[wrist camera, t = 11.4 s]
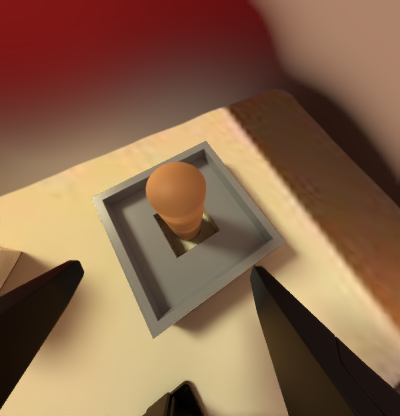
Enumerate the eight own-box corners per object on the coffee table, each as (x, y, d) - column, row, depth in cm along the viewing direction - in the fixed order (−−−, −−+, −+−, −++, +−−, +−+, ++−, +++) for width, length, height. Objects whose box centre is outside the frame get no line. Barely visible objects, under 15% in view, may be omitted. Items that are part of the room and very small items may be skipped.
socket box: (267, 244, 22) (285, 241, 17) (163, 320, 18) (153, 338, 14) (204, 160, 26) (205, 140, 22) (110, 209, 23) (91, 197, 19)
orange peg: (205, 223, 22) (217, 180, 10) (190, 245, 21) (183, 228, 9) (184, 208, 23) (170, 152, 11) (168, 230, 22) (132, 194, 10)
